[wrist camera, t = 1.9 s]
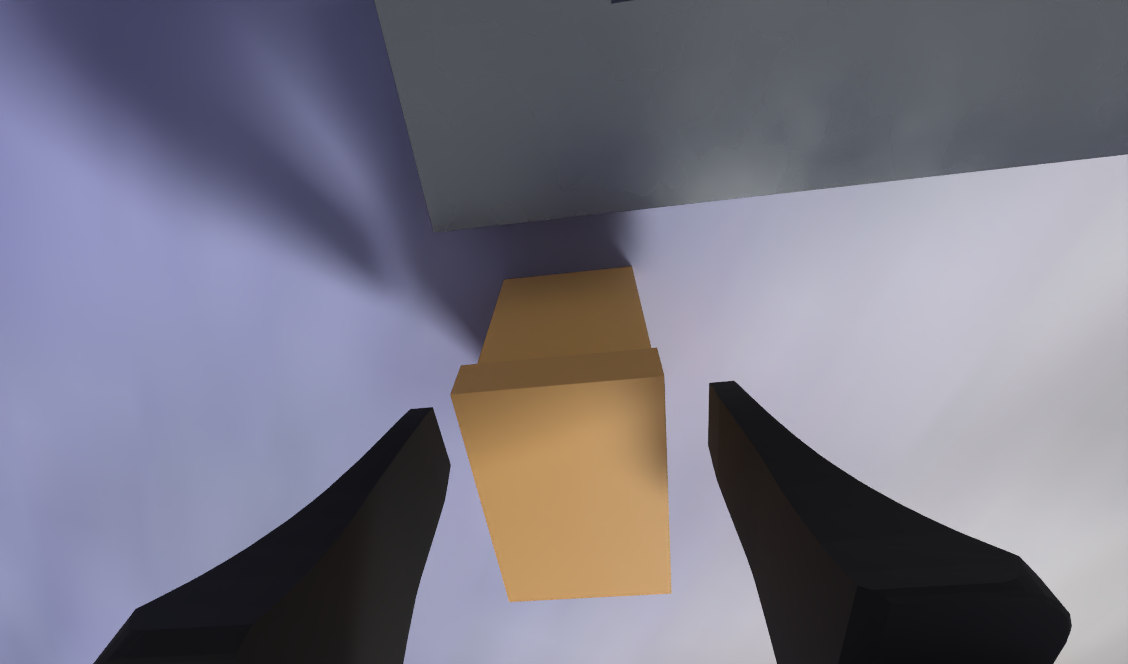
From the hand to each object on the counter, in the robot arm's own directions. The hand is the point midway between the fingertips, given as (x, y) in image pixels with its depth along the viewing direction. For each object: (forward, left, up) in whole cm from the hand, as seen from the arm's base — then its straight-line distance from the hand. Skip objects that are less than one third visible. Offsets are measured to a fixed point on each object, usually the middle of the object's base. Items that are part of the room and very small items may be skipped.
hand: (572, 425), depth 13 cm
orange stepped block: (0, 0, -4) cm, 4 cm away
